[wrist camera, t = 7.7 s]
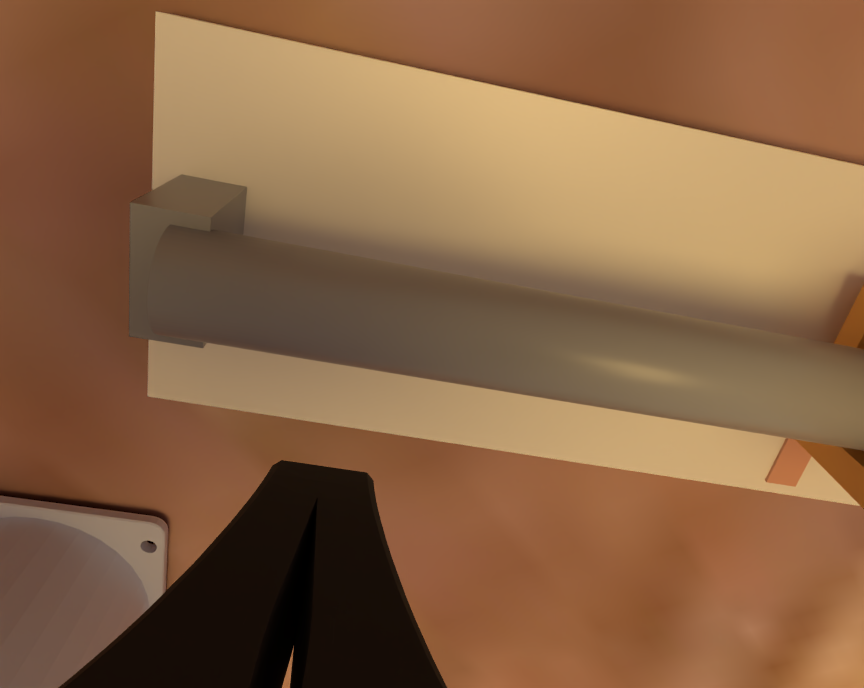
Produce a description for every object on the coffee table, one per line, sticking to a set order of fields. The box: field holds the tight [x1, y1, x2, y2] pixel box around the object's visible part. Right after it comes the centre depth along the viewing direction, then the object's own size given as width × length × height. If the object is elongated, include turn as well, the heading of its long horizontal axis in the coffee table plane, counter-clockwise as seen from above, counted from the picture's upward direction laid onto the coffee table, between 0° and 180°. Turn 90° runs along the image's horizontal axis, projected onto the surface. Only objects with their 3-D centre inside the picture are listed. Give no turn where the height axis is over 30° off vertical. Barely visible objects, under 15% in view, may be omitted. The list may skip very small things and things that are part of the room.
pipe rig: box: [129, 11, 864, 506], centre depth 16 cm, size 27×10×6 cm, turn 79°
